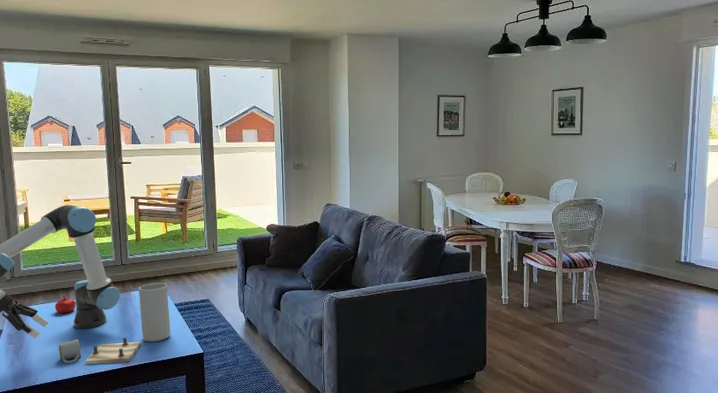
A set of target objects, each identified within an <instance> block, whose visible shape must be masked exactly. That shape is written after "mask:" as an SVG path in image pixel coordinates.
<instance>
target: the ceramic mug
mask: <svg viewBox="0 0 718 393" xmlns="http://www.w3.org/2000/svg"><path fill="white" fill-rule="evenodd" d="M58 354H59V360H60V361H63V362H64V363H65V364H73V363H74V364H75V363H76V362H77V361H78V359H79V358H80V357H82V356H81V355H82V353H81V348H80V341H79V339H78V338H77V339H73V340H69V341H66V342H62V343H60V344H59V345H58ZM70 359H72V360H70Z"/></svg>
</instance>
